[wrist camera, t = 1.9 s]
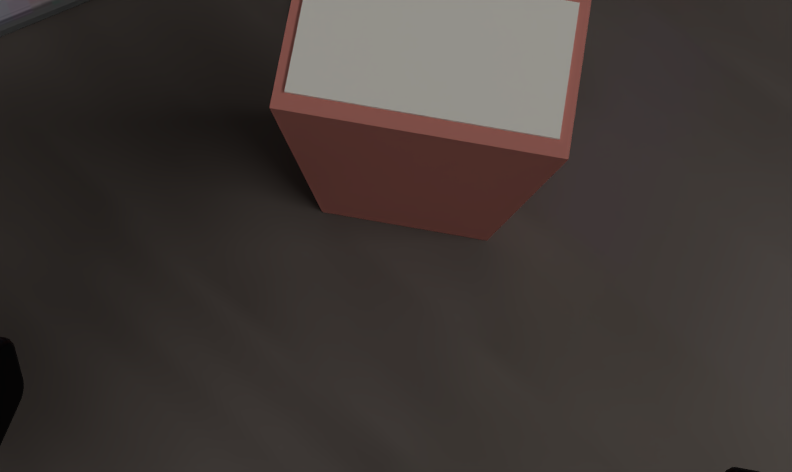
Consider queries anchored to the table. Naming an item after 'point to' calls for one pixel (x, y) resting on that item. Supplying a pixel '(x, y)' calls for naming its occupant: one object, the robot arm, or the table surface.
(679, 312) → the table surface
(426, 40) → the book
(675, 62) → the table surface
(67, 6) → the tablet
